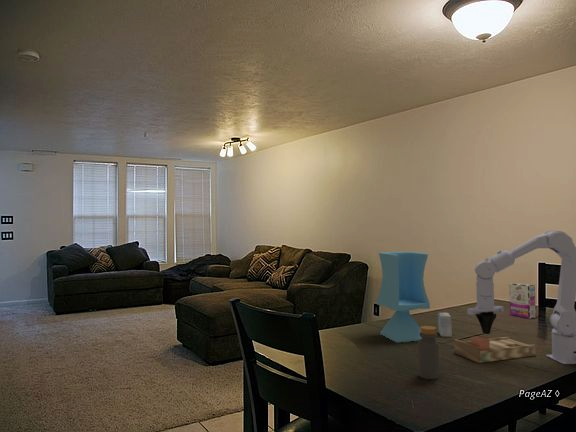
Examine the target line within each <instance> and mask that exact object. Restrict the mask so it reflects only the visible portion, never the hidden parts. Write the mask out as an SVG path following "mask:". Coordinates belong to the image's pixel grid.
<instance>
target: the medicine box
mask: <svg viewBox="0 0 576 432" xmlns="http://www.w3.org/2000/svg"><path fill="white" fill-rule="evenodd" d="M437 323H438V324H437V326H438V327H437V329H438V334H439V336H440V337H442V338H443V337H444V338H445V337H446V338H451V337H453V336H452V334H453V333H452V316H451V315H450V313H449V312H438V313H437Z"/></svg>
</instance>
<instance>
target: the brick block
mask: <svg viewBox="0 0 576 432" xmlns="http://www.w3.org/2000/svg"><path fill="white" fill-rule="evenodd" d="M489 339H490V338H488V337H484V336H480V335H477V336H470V341H471V345H474V346H477V347H479V348H480V351H484V350H490V342H489Z"/></svg>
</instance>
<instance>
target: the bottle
mask: <svg viewBox="0 0 576 432" xmlns="http://www.w3.org/2000/svg"><path fill="white" fill-rule="evenodd" d="M419 327H420V329H421V332H420V337H422V339H421V340H419V341H418V376H419V377H420V378H422V379H424V380H425V379H426V380H437V379H439V377H440V368H439V367H440V363H439V362H440V361H439V359H440V357H439V342H438V340H436V338H437V337H438V334H437V333H436V332H437V331H436V330H437V327H436V326H432V325H421V326H419Z"/></svg>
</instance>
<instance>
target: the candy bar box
mask: <svg viewBox="0 0 576 432" xmlns="http://www.w3.org/2000/svg"><path fill="white" fill-rule="evenodd" d="M536 311H537V309H536V285H535V284H530V283H521V282H520V283H519V282H510V283H509V312H510V313H509V314H510V316H513V317H518V318H523V319H528V320H531V319H536V318H537V316H536V315H537V312H536Z"/></svg>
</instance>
